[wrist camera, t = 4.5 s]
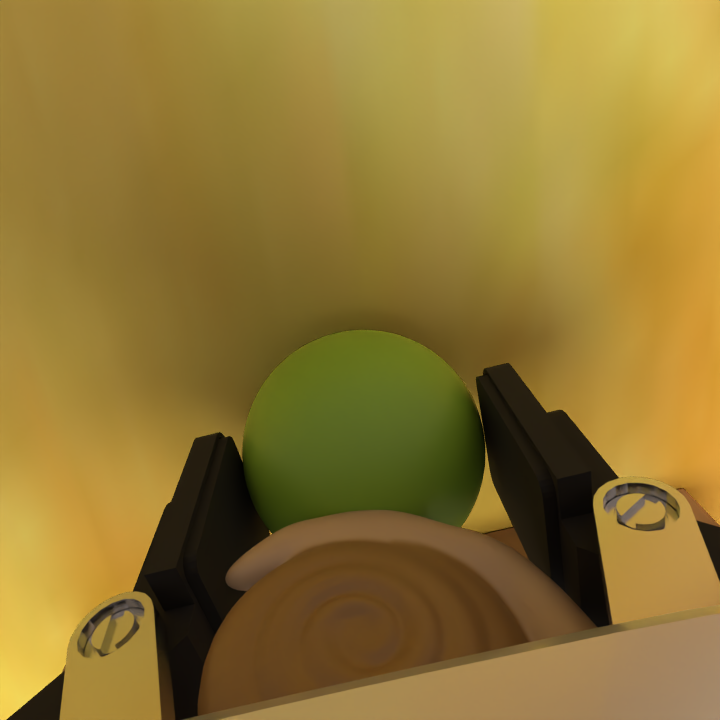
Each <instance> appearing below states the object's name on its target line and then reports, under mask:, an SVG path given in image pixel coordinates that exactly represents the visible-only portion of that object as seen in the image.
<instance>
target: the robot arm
mask: <svg viewBox="0 0 720 720" xmlns="http://www.w3.org/2000/svg"><path fill="white" fill-rule="evenodd" d="M476 384H477V391H478V397H479V403H480V410H481V416H482V423H483V429H484V435H485V442H486V448H487V454H488V461H489V467H490V473H491V477H492V481H493V484H494V486H495V489H496V491H497V493H498V495H499V497H500V499H501V501H502V503H503V506H504V508H505V510H506V512H507V514H508V516H509V518H510V520H511V523H512V525H513V527H514V529H515V531H516V533H517V535H518V538H519V540H520V542H521V544H522V546H523V548H524V550H525V552H526V555H527V557H528V559H529V561H531V562H532V563H533V564H534V565H535V566H536V567H538V568H539V569H540V570H541V571H542V572H544V573H545V574H546V575H547V576H548V577H549V578H551V579H552V580H553V581H554V582H555V583H556V584H557V585H558V586H559V587H560V588H561V589H562V590H563V591H564V592H565V593H566V594H567V595H568V596H569V597H570V598H571V599H572V600H573V601H574V602H575V603H576V604H577V605H578V606H579V607H580V609H581V610H582V611H583V612H584V613H585V614H586V615H587V616H588V617H589V618H590V619H591V621H592V622H593V623H594V624H595V625H596V626H597V627H598V628H593V629H588V630H584V631H579V632H575V633H570V634H565V635H561V636H556V637H551V638H547V639H542V640H538V641H533V642H528V643H524V644H519V645H514V646H510V647H505V648H501V649H496V650H491V651H487V652H482V653H478V654H473V655H468V656H464V657H459V658H454V659H450V660H445V661H441V662H436V663H432V664H427V665H423V666H418V667H414V668H409V669H405V670H400V671H396V672H391V673H387V674H382V675H378V676H373V677H369V678H364V679H360V680H355V681H351V682H346V683H342V684H337V685H333V686H328V687H324V688H319V689H315V690H310V691H306V692H301V693H297V694H292V695H288V696H284V697H279V698H275V699H270V700H266V701H262V702H257V703H253V704H249V705H244V706H240V707H235V708H231V709H227V710H222V711H218V712H214V713H209V714H205V715H200V716H198V696H199V690H200V684H201V677H202V671H203V666H204V663H205V660H206V657H207V654H208V652H209V649H210V646H211V644H212V641H213V638H214V636H215V634H216V632H217V630H218V629H219V627H220V625H221V624H222V622H223V621H224V619H225V617H226V616H227V614H228V613H229V611H230V610H231V608H232V607H233V606H234V605H235V604H236V602H237V601H238V600H239V599H240V598H241V597H242V596H243V595H244V594H245V593H246V592H247V591H241V590H236V589H233V588H231V587H229V586H228V585H227V583H226V580H225V577H226V574H227V572H228V570H229V569H230V567H231V566H232V565H233V564H234V563H235V562H236V561H237V560H238V559H239V558H240V557H241V556H242V555H244V554H245V553H246V552H247V551H249V550H250V549H251V548H253V547H254V546H255V545H257V544H258V543H259V542H261V541H262V540H264V539H265V538H267V537H268V536H270V533H269V529H268V528H267V527H266V525H265V524H264V522H263V521H262V519H261V518H260V516H259V514H258V512H257V511H256V509H255V507H254V504H253V502H252V500H251V497H250V494H249V491H248V488H247V485H246V481H245V476H244V470H243V462H242V460H241V457H240V455H239V452H238V450H237V447H236V445H235V442H234V440H233V439H232V437H230V436H229V437H224V435H223V434H222V433H220V432H219V433H215V434H211V435H207V436H202V437H198V438H196V439H195V440H194V442H193V445H192V448H191V450H190V453H189V456H188V458H187V461H186V464H185V466H184V469H183V472H182V474H181V477H180V480H179V482H178V485H177V488H176V490H175V493H174V496H173V498H172V501H171V502H170V503H168V504H167V506H166V507H165V509H164V512H163V514H162V517H161V519H160V522H159V525H158V527H157V530H156V532H155V535H154V538H153V540H152V543H151V545H150V548H149V551H148V553H147V556H146V558H145V561H144V564H143V566H142V569H141V571H140V574H139V577H138V579H137V582H136V584H135V587H134V590H133V592H126V593H122V594H119V595H117V596H114V597H112V598H110V599H108V600H106V601H105V602H103V603H101V604H99V605H98V606H97V607H96V608H95V609H93V610H92V611H91V612H90V613H88V614H87V615H86V617H85V618H84V619H83V620H82V621H81V622H80V623H79V624H78V626H77V628H76V629H75V631H74V633H73V634H72V636H71V638H70V642H69V645H68V649H67V658H66V667H65V671H64V672H63V673H61V674H60V675H59V676H58V677H57V678H55V679H54V680H53V681H52V682H51V683H50V684H48V685H47V686H46V687H45V688H44V689H42V690H41V691H40V692H39V693H38V694H37V695H35V696H34V697H33V698H32V699H31V700H29V701H28V702H27V703H26V704H25V705H23V706H22V707H21V708H20V709H19V710H18V711H16V712H15V713H14V714H13V715H12V716H10V717H9V718H8V719H7V720H720V527H718V526H714V525H711V524H707V523H704V522H700V521H697V520H696V519H695V516H694V514H693V511H692V509H691V506H690V504H689V503H688V501H687V500H686V498H685V496H683V495H682V494H681V493H680V492H679V491H677V490H676V489H675V488H673V487H671V486H669V485H667V484H665V483H663V482H661V481H657V480H653V479H650V478H643V477H625V478H619V477H618V476H617V475H616V474H615V473H614V471H613V470H612V469H611V468H610V466H609V465H608V464H607V463H606V462H605V460H604V459H603V458H602V457H601V455H600V454H599V453H598V452H597V451H596V449H595V448H594V447H593V446H592V444H591V443H590V442H589V441H588V440H587V438H586V437H585V436H584V435H583V433H582V432H581V431H580V430H579V429H578V427H577V426H576V425H575V424H574V422H573V421H572V420H571V419H570V418H569V416H568V415H567V414H566V413H565V412H564V411H563V410H556V411H552V412H548V413H547V412H546V411H545V410H544V409H543V407H542V406H541V405H540V403H539V402H538V401H537V399H536V398H535V397H534V395H533V394H532V393H531V391H530V390H529V389H528V387H527V386H526V385H525V383H524V382H523V381H522V379H521V378H520V377H519V375H518V374H517V373H516V372H515V370H514V369H513V368H512V366H511V365H510V364H509V363H506V364H502V365H497V366H493V367H489V368H485V369H484V370H483V376H479V377H476Z"/></svg>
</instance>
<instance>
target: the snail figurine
mask: <svg viewBox="0 0 720 720" xmlns="http://www.w3.org/2000/svg"><path fill="white" fill-rule="evenodd" d="M242 458H243V470H244V476H245V481H246V485H247V488H248V491H249V494H250V497H251V500H252V502H253V504H254V507H255V509H256V511H257V512H258V514H259V516H260V518H261V519H262V521H263V522H264V524H265V525H266V527H267V528H268V529H269V530H270V532H271V533H272V535H270V536H268V537H267V538H265V539H264V540H262V541H261V542H259V543H258V544H257V545H255V546H254V547H253V548H251V549H250V550H249V551H247V552H246V553H245V554H244V555H242V556H241V557H240V558H239V559H238V560H237V561H236V562H235V563H234V564H233V565H232V566H231V567H230V569H229V570H228V572H227V574H226V577H225V580H226V583H227V585H228V586H229V587H231V588H233V589H236V590H241V591H247V592H246V593H245V594H244V595H243V596H242V597H241V598H240V599H239V600H238V601H237V602H236V604H235V605H234V606H233V607H232V608H231V610H230V611H229V613H228V614H227V616H226V617H225V619H224V621H223V622H222V624H221V625H220V627H219V629H218V630H217V632H216V634H215V636H214V638H213V641H212V644H211V646H210V649H209V652H208V654H207V657H206V660H205V663H204V666H203V671H202V677H201V684H200V690H199V696H198V716H200V715H205V714H209V713H214V712H218V711H222V710H227V709H231V708H235V707H240V706H244V705H249V704H253V703H257V702H262V701H266V700H270V699H275V698H279V697H284V696H288V695H292V694H297V693H301V692H306V691H310V690H315V689H319V688H324V687H328V686H333V685H337V684H342V683H346V682H351V681H355V680H360V679H364V678H369V677H373V676H378V675H382V674H387V673H391V672H396V671H400V670H405V669H409V668H414V667H418V666H423V665H427V664H432V663H436V662H441V661H445V660H450V659H454V658H459V657H464V656H468V655H473V654H478V653H482V652H487V651H491V650H496V649H501V648H505V647H510V646H514V645H519V644H524V643H528V642H533V641H538V640H542V639H547V638H551V637H556V636H561V635H565V634H570V633H575V632H579V631H584V630H588V629H593V628H598V627H597V626H596V625H595V624H594V623H593V622H592V621H591V619H590V618H589V617H588V616H587V615H586V614H585V613H584V612H583V611H582V610H581V609H580V607H579V606H578V605H577V604H576V603H575V602H574V601H573V600H572V599H571V598H570V597H569V596H568V595H567V594H566V593H565V592H564V591H563V590H562V589H561V588H560V587H559V586H558V585H557V584H556V583H555V582H554V581H553V580H552V579H551V578H549V577H548V576H547V575H546V574H545V573H544V572H542V571H541V570H540V569H539V568H538V567H536V566H535V565H534V564H533V563H532V562H531V561H529V560H528V559H527V558H525V557H524V556H523V555H521V554H520V553H519V552H517V551H516V550H514V549H513V548H511V547H510V546H508V545H506V544H504V543H502V542H500V541H498V540H496V539H494V538H492V537H489V536H487V535H484V534H481V533H478V532H475V531H472V530H468V529H464V528H461V526H462V525H463V524H464V522H465V521H466V519H467V517H468V516H469V514H470V512H471V510H472V508H473V506H474V504H475V502H476V499H477V496H478V494H479V491H480V487H481V484H482V479H483V474H484V467H485V439H484V432H483V427H482V423H481V419H480V415H479V412H478V410H477V407H476V405H475V402H474V400H473V398H472V396H471V394H470V392H469V391H468V389H467V387H466V386H465V384H464V383H463V381H462V380H461V378H460V377H459V376H458V375H457V373H456V372H455V371H454V370H453V369H452V368H451V367H450V366H449V365H448V364H447V363H446V362H445V361H444V360H443V359H442V358H441V357H439V356H438V355H437V354H435V353H434V352H433V351H431V350H430V349H428V348H427V347H425V346H423V345H421V344H419V343H418V342H416V341H413V340H411V339H409V338H406V337H403V336H400V335H397V334H394V333H389V332H384V331H377V330H350V331H343V332H338V333H334V334H330V335H327V336H324V337H321V338H319V339H316V340H314V341H312V342H310V343H308V344H306V345H304V346H303V347H301V348H299V349H298V350H296V351H295V352H293V353H292V354H291V355H289V356H288V357H287V358H286V359H285V360H283V361H282V362H281V363H280V364H279V365H278V366H277V367H276V368H275V369H274V370H273V372H272V373H271V374H270V375H269V376H268V378H267V379H266V380H265V382H264V383H263V385H262V386H261V388H260V390H259V391H258V393H257V395H256V397H255V399H254V401H253V404H252V406H251V408H250V411H249V414H248V417H247V421H246V425H245V430H244V436H243V447H242Z"/></svg>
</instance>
